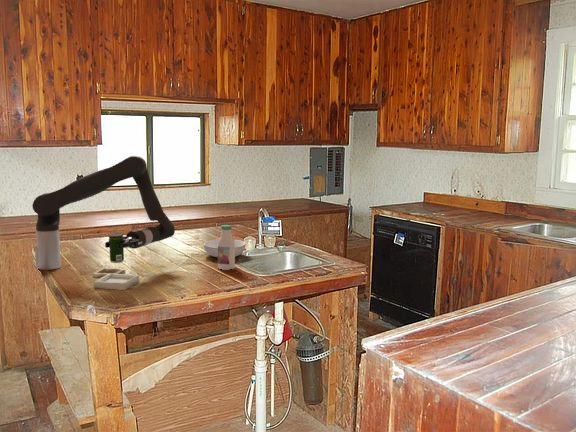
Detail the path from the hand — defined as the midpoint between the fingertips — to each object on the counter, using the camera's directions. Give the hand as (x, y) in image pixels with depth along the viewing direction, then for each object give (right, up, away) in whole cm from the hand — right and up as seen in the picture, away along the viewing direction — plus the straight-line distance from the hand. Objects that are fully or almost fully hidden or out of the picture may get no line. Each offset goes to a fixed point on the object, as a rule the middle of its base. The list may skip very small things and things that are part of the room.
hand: (112, 245), depth 216 cm
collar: (-7, -13, +19) cm, 24 cm away
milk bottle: (+41, -12, +34) cm, 55 cm away
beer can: (+1, -7, +3) cm, 8 cm away
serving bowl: (+38, -9, +57) cm, 69 cm away
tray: (+1, -16, +5) cm, 17 cm away
